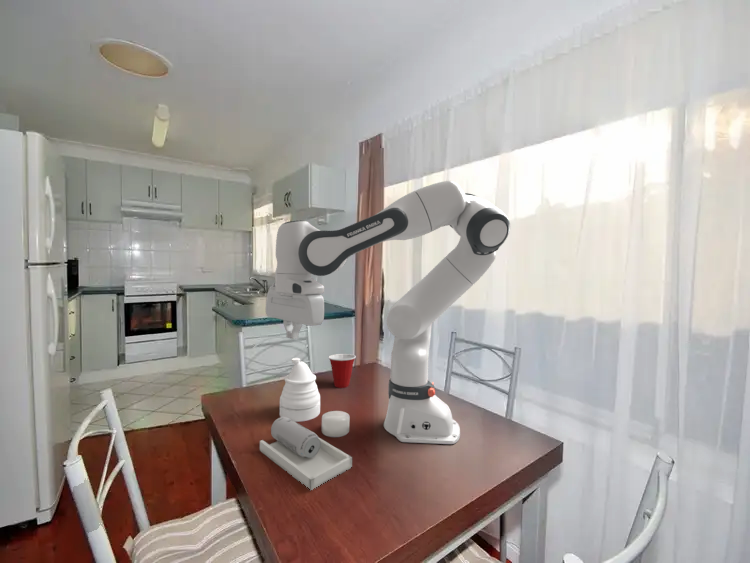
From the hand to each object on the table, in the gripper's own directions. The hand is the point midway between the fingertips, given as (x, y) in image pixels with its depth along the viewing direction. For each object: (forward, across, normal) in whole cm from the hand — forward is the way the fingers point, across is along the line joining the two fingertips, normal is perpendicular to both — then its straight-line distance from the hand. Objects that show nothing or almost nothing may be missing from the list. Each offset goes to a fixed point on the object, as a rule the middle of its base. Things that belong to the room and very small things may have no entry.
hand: (292, 338), depth 89 cm
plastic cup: (+29, -23, +41) cm, 55 cm away
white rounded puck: (+29, +2, +14) cm, 32 cm away
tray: (+29, +7, -1) cm, 30 cm away
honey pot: (+29, -15, +15) cm, 36 cm away
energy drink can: (+26, -6, 0) cm, 26 cm away
